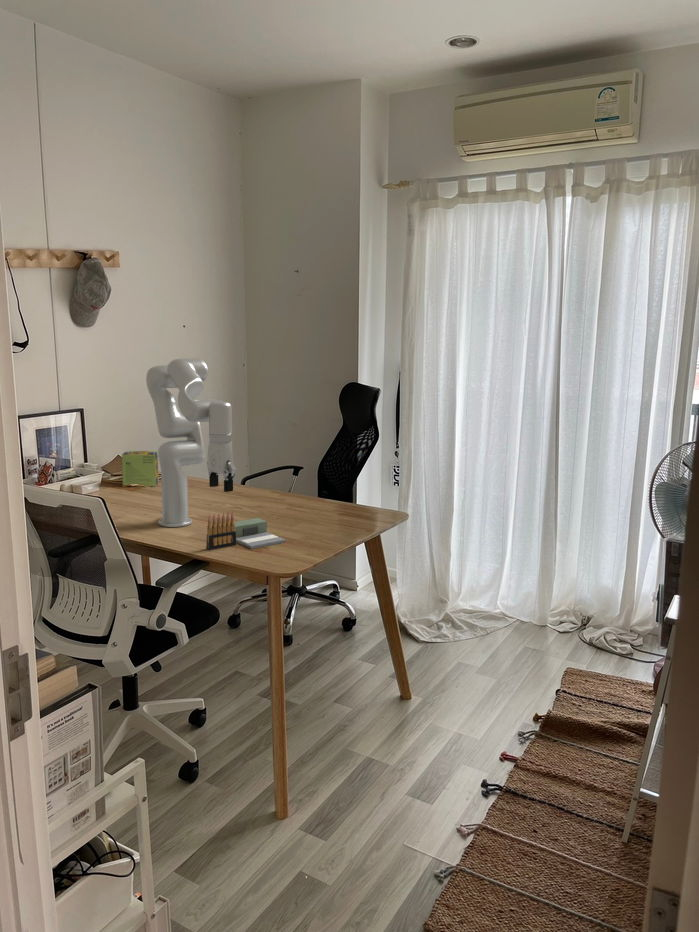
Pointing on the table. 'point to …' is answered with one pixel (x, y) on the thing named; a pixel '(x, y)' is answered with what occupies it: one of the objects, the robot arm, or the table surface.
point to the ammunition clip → (221, 532)
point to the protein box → (140, 468)
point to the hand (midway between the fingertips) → (221, 488)
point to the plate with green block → (255, 534)
